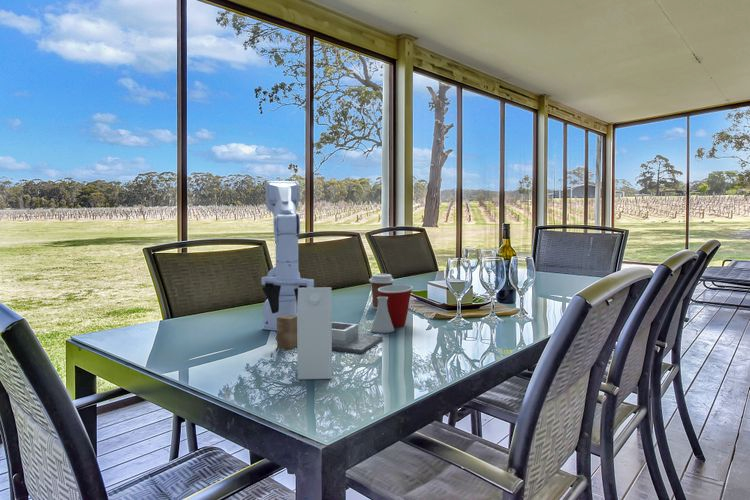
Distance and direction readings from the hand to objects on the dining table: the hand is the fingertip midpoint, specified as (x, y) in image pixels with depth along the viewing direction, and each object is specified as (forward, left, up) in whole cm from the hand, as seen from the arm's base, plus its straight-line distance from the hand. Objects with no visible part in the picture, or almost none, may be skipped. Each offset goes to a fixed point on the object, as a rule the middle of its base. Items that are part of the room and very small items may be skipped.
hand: (287, 313), depth 129 cm
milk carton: (+17, -16, -9) cm, 25 cm away
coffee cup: (+3, +58, -9) cm, 59 cm away
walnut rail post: (0, 0, -9) cm, 9 cm away
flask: (+16, +26, -9) cm, 32 cm away
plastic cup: (+17, +34, -9) cm, 39 cm away
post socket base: (+10, +9, -9) cm, 16 cm away
